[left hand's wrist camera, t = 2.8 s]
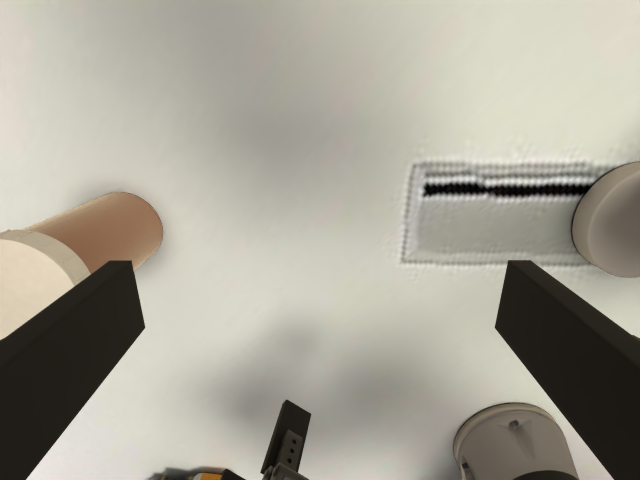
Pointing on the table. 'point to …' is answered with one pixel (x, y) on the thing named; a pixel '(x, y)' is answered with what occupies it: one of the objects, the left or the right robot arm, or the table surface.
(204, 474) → the spray gun
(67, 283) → the lid
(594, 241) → the bust sculpture
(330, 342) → the table surface
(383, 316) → the table surface
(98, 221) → the jar
